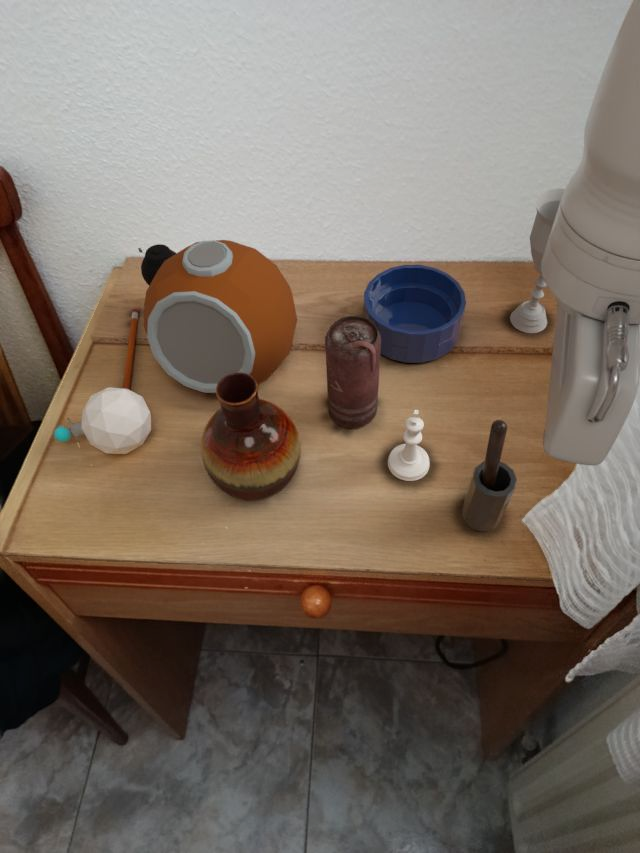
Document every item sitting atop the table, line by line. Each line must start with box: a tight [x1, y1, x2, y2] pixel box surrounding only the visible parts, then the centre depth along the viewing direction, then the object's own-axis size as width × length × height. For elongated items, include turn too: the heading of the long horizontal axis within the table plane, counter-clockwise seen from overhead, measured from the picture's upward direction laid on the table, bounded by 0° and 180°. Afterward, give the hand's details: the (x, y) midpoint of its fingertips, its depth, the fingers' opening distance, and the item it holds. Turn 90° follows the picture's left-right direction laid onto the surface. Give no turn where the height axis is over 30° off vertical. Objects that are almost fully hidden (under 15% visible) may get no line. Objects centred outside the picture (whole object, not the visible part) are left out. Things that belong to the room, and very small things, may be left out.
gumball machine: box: [138, 243, 178, 287], centre depth 84 cm, size 7×6×10 cm
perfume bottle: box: [53, 386, 152, 455], centre depth 71 cm, size 8×8×12 cm
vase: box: [200, 372, 301, 501], centre depth 65 cm, size 11×11×15 cm
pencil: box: [122, 308, 140, 390], centre depth 81 cm, size 1×19×1 cm, turn 6°
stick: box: [481, 419, 508, 491], centre depth 59 cm, size 1×1×16 cm
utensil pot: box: [461, 460, 518, 532], centre depth 63 cm, size 4×4×8 cm
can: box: [324, 315, 381, 429], centre depth 70 cm, size 6×6×14 cm
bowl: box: [363, 264, 467, 364], centre depth 81 cm, size 13×13×6 cm
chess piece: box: [387, 409, 431, 482], centre depth 66 cm, size 5×5×10 cm
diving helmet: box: [143, 239, 298, 394], centre depth 74 cm, size 19×18×17 cm
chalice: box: [509, 187, 565, 334], centre depth 76 cm, size 7×7×18 cm
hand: (558, 395), depth 48 cm, fingers open, 8 cm apart
